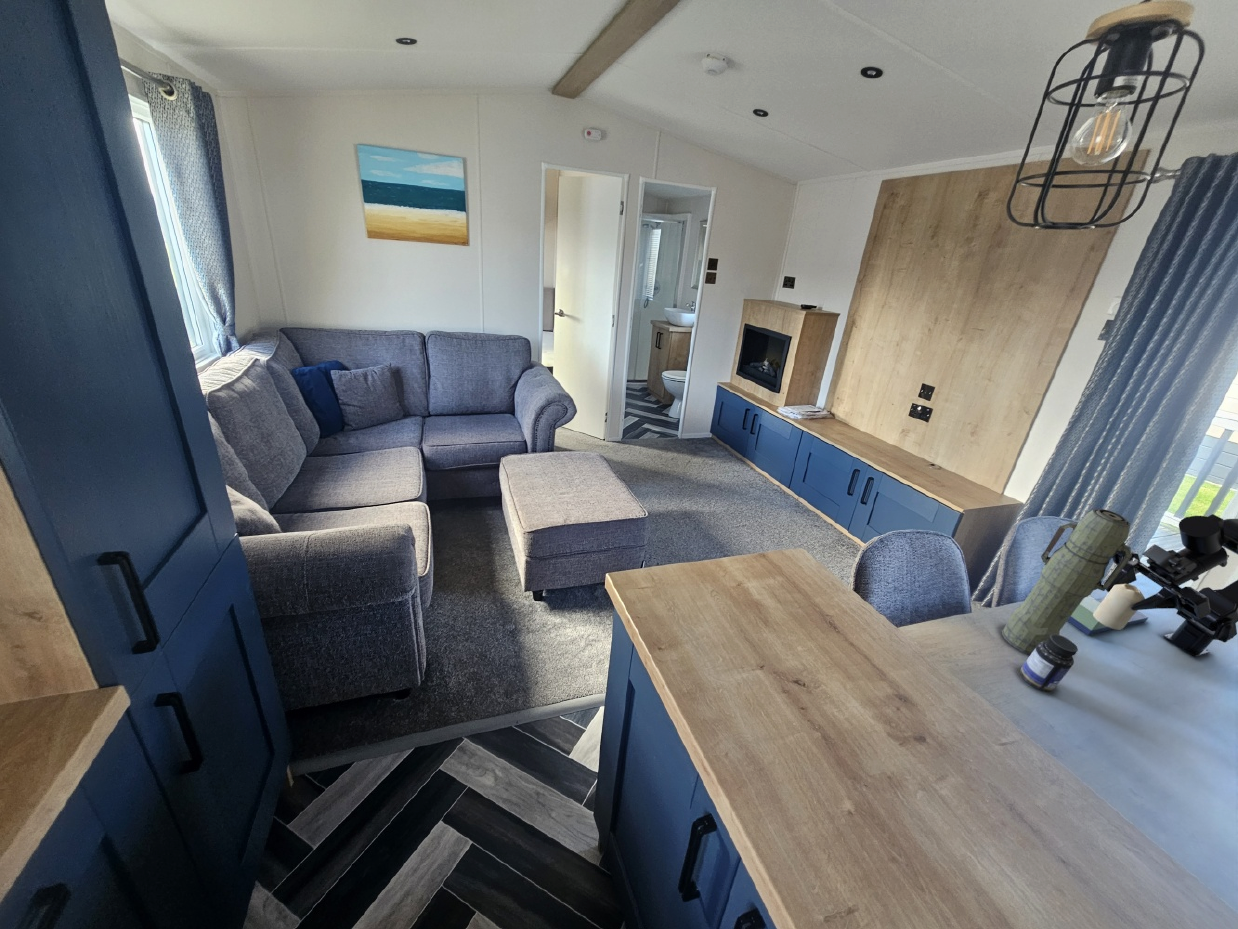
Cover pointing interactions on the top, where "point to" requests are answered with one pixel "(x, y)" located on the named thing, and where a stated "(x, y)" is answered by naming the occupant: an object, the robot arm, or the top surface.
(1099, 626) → the stand
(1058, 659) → the pill bottle
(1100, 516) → the thermos
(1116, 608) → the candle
